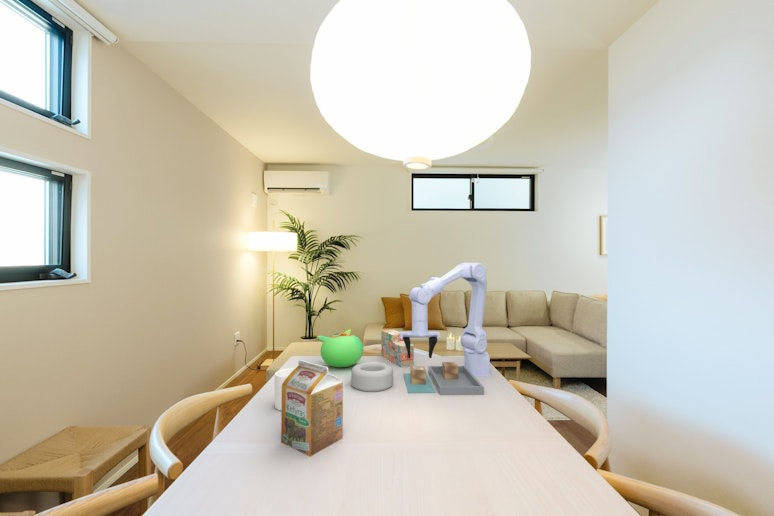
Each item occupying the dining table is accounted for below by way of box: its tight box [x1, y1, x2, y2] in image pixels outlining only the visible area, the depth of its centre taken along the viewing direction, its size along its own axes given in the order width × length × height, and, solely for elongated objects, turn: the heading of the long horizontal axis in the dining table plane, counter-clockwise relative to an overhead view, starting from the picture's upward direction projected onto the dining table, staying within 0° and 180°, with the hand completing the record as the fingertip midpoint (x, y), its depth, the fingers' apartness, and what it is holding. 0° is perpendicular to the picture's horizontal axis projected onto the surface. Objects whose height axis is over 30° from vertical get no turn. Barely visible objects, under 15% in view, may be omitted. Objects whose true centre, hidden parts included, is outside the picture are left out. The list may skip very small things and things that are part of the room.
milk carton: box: [280, 359, 344, 457], centre depth 88 cm, size 11×11×19 cm
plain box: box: [441, 361, 459, 379], centre depth 135 cm, size 5×5×5 cm
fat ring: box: [350, 361, 394, 392], centre depth 128 cm, size 15×15×7 cm
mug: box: [274, 367, 295, 412], centre depth 107 cm, size 12×8×10 cm
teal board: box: [402, 372, 436, 394], centre depth 128 cm, size 9×20×1 cm, turn 3°
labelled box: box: [409, 365, 427, 385], centre depth 128 cm, size 5×5×5 cm
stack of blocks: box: [380, 329, 415, 368], centre depth 158 cm, size 21×6×12 cm, turn 23°
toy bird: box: [316, 328, 364, 368], centre depth 150 cm, size 18×17×15 cm
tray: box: [428, 365, 485, 396], centre depth 129 cm, size 15×24×3 cm, turn 2°
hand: (419, 357), depth 130 cm, fingers open, 7 cm apart
